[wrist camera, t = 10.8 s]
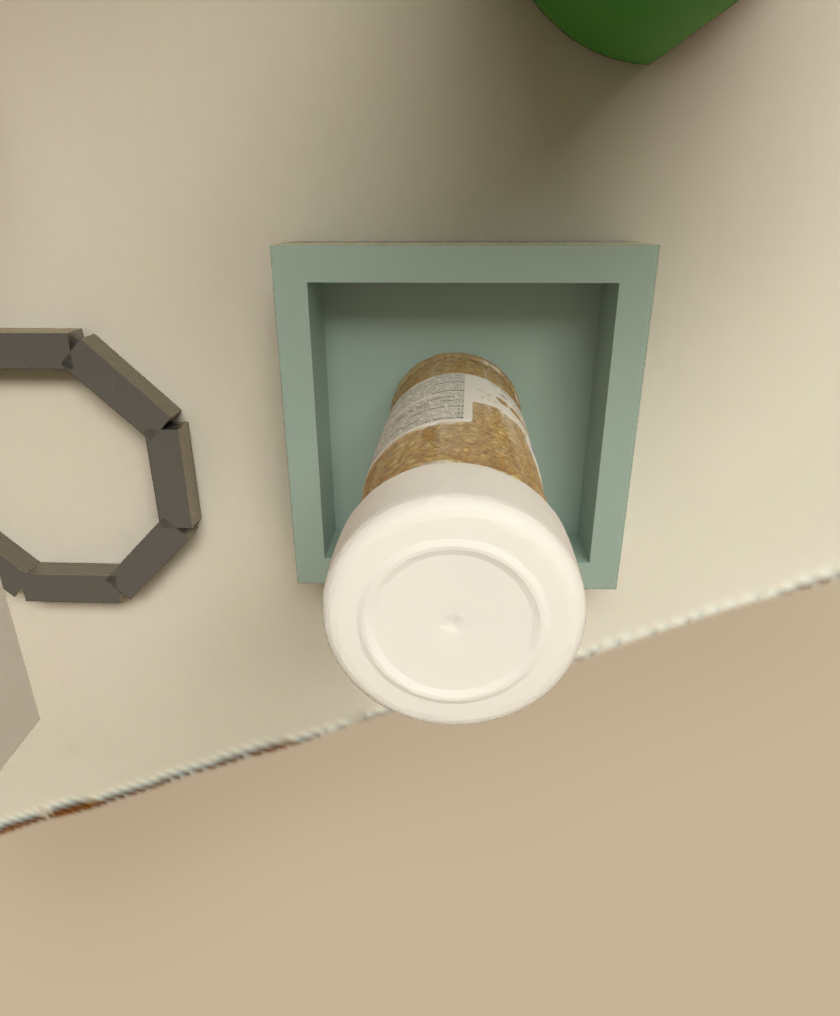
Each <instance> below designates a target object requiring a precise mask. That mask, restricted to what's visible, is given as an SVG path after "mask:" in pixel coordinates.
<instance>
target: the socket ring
mask: <svg viewBox="0 0 840 1016" xmlns="http://www.w3.org/2000/svg"><path fill="white" fill-rule="evenodd" d="M0 369H67V370H68V371H69V372H71V373H72V374H73V375H74V376H75V377H76V378H78V379H79V380H80V381H81V382H82V383H83V384H85V385H86V386H87V387H88V388H89V389H91V390H92V391H93V392H94V393H95V394H96V395H98V396H99V397H100V398H101V399H102V400H103V401H105V402H106V403H107V404H108V405H109V406H111V407H112V408H113V409H114V410H115V411H116V412H118V413H119V414H120V415H121V416H122V417H123V418H125V419H126V420H127V421H128V422H129V423H130V424H132V425H133V426H134V427H135V428H136V429H138V430H139V431H140V432H141V433H142V434H143V435H145V437H146V443H147V449H148V455H149V461H150V468H151V474H152V480H153V486H154V492H155V498H156V504H157V510H158V516H159V523H158V524H157V525H156V526H155V527H154V528H153V529H152V530H151V531H150V532H149V533H148V534H147V536H146V537H145V538H144V539H143V540H142V541H141V542H140V543H139V544H138V545H137V546H136V547H135V548H134V550H133V551H132V552H131V553H130V554H129V555H128V556H127V557H126V558H125V559H124V560H123V561H122V562H121V564H98V563H46V562H39V561H37V560H36V559H35V558H33V557H32V556H31V555H29V554H28V553H27V552H25V551H24V550H23V549H22V548H20V547H19V546H18V545H16V544H15V543H14V542H12V541H11V540H10V539H8V538H7V537H6V536H4V535H3V534H2V533H0V578H1V582H2V585H3V589H5V590H6V591H7V592H9V593H10V594H12V595H13V596H14V597H15V596H16V595H17V594H18V593H20V592H21V591H22V590H24V594H25V598H26V601H50V602H96V603H121V602H122V601H123V600H124V598H125V597H126V596H127V597H128V598H130V599H131V598H132V597H133V596H134V595H135V594H136V593H137V592H138V591H139V590H140V589H141V588H142V587H143V586H144V585H145V584H146V583H147V582H148V581H149V580H150V579H151V577H152V576H153V575H154V574H155V573H156V572H157V571H158V570H159V569H160V568H161V567H162V566H163V565H164V564H165V563H166V562H167V561H168V560H169V559H170V558H171V557H172V556H173V555H174V554H175V552H176V551H177V550H178V549H179V548H180V547H181V546H182V545H183V544H184V543H185V542H186V541H187V540H188V539H189V538H190V537H191V535H192V534H193V533H194V532H195V530H196V529H197V528H198V527H197V526H196V525H195V524H196V523H197V522H198V521H199V519H200V518H201V512H200V505H199V498H198V490H197V483H196V476H195V469H194V462H193V454H192V447H191V440H190V433H189V426H188V422H171V421H172V420H173V419H174V418H175V417H176V416H177V415H178V413H179V412H180V411H181V409H179V408H178V407H177V406H176V405H175V404H174V403H173V402H171V401H170V400H169V399H168V398H167V397H166V396H165V395H163V394H162V393H161V392H160V391H159V390H158V389H157V388H156V387H154V386H153V385H152V384H151V383H150V382H149V381H148V380H146V379H145V378H144V377H143V376H142V375H141V374H140V373H138V372H137V371H136V370H135V369H134V368H133V367H132V366H130V365H129V364H128V363H127V362H126V361H125V360H124V359H122V358H121V357H120V356H119V355H118V354H117V353H116V352H114V351H113V350H112V349H111V348H110V347H109V346H108V345H106V344H105V343H104V342H103V341H102V340H101V339H100V338H99V337H97V336H96V335H95V334H93V335H90V336H87V337H84V338H83V334H82V329H54V328H0Z"/></svg>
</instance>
